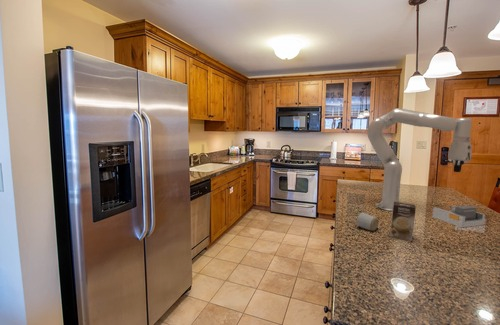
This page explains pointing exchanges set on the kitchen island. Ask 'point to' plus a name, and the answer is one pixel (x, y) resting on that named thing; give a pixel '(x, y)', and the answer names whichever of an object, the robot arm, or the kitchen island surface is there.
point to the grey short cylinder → (367, 221)
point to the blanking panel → (466, 211)
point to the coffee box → (402, 221)
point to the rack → (457, 217)
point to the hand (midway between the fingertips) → (457, 171)
